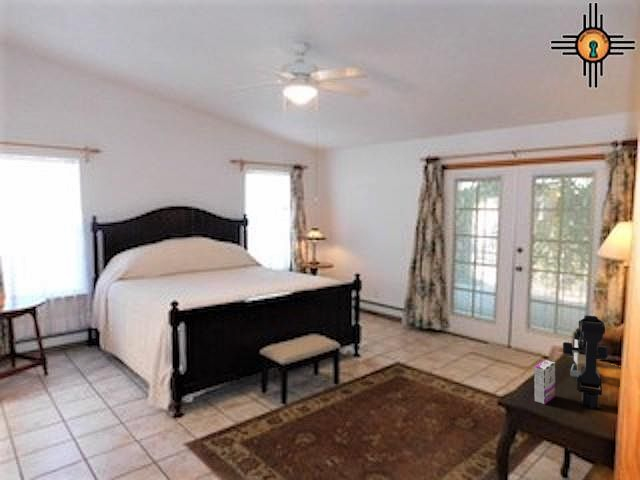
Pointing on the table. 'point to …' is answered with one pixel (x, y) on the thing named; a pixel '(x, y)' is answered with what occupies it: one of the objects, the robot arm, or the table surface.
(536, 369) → the candy bar box
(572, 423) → the table surface
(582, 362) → the oak handle block
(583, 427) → the table surface
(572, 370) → the tray
